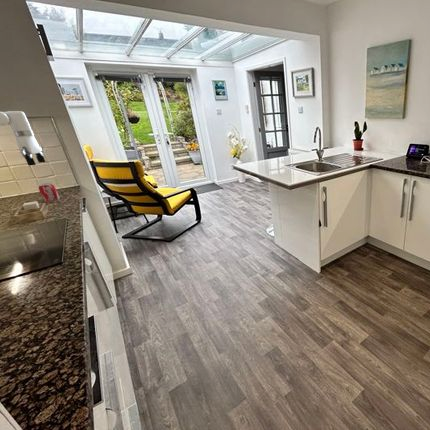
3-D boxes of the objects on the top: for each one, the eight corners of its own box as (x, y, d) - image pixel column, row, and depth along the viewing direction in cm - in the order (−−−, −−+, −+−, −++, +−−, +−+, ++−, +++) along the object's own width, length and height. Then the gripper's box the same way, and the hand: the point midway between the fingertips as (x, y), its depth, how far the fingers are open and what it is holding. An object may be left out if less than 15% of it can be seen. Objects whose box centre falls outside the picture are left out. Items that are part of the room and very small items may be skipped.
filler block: (27, 216, 140) (22, 205, 137) (29, 213, 143) (23, 203, 141) (40, 213, 143) (35, 203, 140) (41, 211, 146) (37, 201, 144)
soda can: (46, 205, 158) (37, 186, 154) (45, 203, 163) (36, 184, 158) (61, 202, 163) (53, 183, 158) (60, 200, 167) (52, 181, 163)
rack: (18, 225, 130) (13, 216, 129) (24, 215, 144) (20, 206, 142) (45, 219, 136) (41, 211, 135) (48, 210, 150) (45, 202, 148)
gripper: (25, 133, 157) (38, 161, 164) (4, 135, 142) (19, 167, 148) (41, 132, 159) (53, 160, 166) (22, 134, 144) (36, 165, 151)
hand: (37, 163), depth 157 cm, fingers open, 9 cm apart
